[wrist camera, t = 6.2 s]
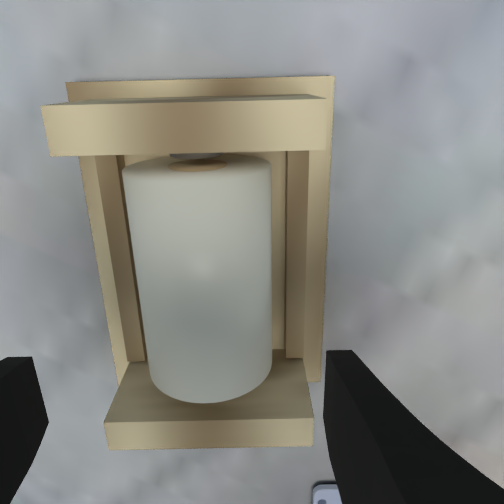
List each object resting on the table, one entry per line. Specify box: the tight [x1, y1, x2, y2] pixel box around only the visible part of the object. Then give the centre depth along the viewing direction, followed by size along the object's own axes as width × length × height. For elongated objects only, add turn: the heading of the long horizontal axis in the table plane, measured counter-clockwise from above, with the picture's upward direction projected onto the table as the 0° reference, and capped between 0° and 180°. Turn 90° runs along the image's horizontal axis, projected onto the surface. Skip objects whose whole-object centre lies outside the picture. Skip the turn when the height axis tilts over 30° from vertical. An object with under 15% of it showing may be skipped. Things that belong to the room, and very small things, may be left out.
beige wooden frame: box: [41, 76, 335, 450], centre depth 17 cm, size 10×14×6 cm
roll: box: [122, 154, 272, 403], centre depth 16 cm, size 8×5×5 cm, turn 1°
